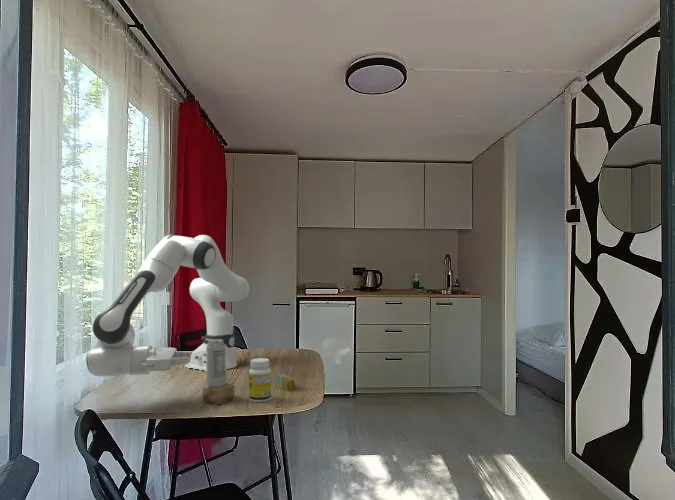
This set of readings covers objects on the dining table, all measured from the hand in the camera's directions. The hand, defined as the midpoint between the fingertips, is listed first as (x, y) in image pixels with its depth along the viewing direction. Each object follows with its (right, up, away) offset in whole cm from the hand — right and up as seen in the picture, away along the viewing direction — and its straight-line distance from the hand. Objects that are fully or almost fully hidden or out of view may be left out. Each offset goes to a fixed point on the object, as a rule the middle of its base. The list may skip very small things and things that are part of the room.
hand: (189, 357), depth 153 cm
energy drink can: (+8, -10, +2) cm, 13 cm away
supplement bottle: (+23, -14, +1) cm, 27 cm away
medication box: (+29, -15, +16) cm, 36 cm away
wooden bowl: (+9, -14, +2) cm, 17 cm away
